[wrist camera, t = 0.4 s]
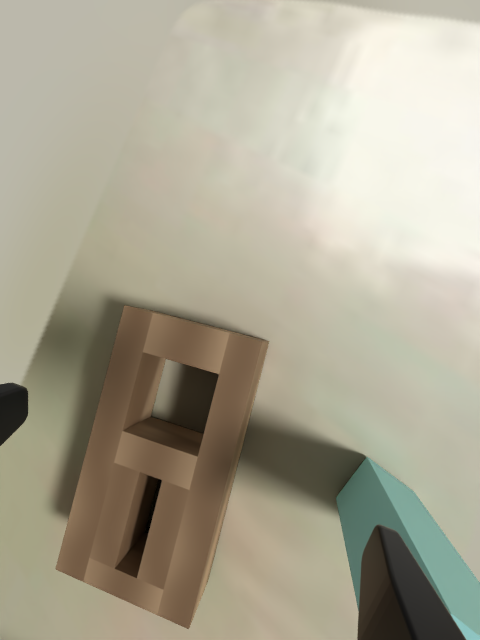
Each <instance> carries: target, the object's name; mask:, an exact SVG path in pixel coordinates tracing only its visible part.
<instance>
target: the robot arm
mask: <svg viewBox="0 0 480 640" xmlns="http://www.w3.org/2000/svg"><path fill="white" fill-rule="evenodd" d="M27 416H28V391H27V389H26V388H25V387H23V386H20V385H18V384H15V383H6V384H0V446H1V445H2V444H3V443H4V442H5V441H6V440H7V439H8V438H9V437H10V436H11V435H12V434H13V433H14V432H15V431H16V430H17V429H18V428H19V427H20V426H21V425H22V424H23V423H24V421H25V420H26V418H27ZM358 640H466V638H465V636H464V635H463V633H462V632H461V630H460V629H459V627H458V625H457V624H456V622H455V621H454V619H453V618H452V616H451V614H450V613H449V611H448V610H447V608H446V607H445V605H444V603H443V602H442V600H441V599H440V597H439V596H438V594H437V592H436V591H435V589H434V588H433V586H432V585H431V583H430V581H429V580H428V578H427V577H426V575H425V574H424V572H423V570H422V569H421V567H420V566H419V564H418V562H417V561H416V559H415V558H414V556H413V555H412V553H411V551H410V550H409V548H408V547H407V545H406V544H405V542H404V540H403V539H402V537H401V536H400V534H399V533H398V532H397V531H396V530H394V529H391V528H389V527H386V526H383V525H381V524H378V525H376V526H375V527H374V529H373V531H372V533H371V535H370V537H369V540H368V542H367V544H366V546H365V548H364V551H363V554H362V560H361V578H360V597H359V617H358Z"/></svg>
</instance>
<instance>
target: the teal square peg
mask: <svg viewBox="0 0 480 640" xmlns="http://www.w3.org/2000/svg"><path fill="white" fill-rule="evenodd" d="M336 501H337V506H338V511H339V516H340V521H341V526H342V531H343V536H344V541H345V546H346V551H347V556H348V561H349V566H350V571H351V576H352V581H353V586H354V591H355V596H356V601H357V606H358V611H359V597H360V578H361V560H362V554H363V551H364V548H365V546H366V544H367V542H368V540H369V537H370V535H371V533H372V531H373V529H374V527H375V526H376V525H378V524H381V525H383V526H386V527H389V528H391V529H394V530H396V531H397V532H398V533H399V534H400V536H401V537H402V539H403V540H404V542H405V544H406V545H407V547H408V548H409V550H410V551H411V553H412V555H413V556H414V558H415V559H416V561H417V562H418V564H419V566H420V567H421V569H422V570H423V572H424V574H425V575H426V577H427V578H428V580H429V581H430V583H431V585H432V586H433V588H434V589H435V591H436V592H437V594H438V596H439V597H440V599H441V600H442V602H443V603H444V605H445V607H446V608H447V610H448V611H449V613H450V614H451V616H452V618H453V619H454V621H455V622H456V624H457V625H458V627H459V629H460V630H461V632H462V633H463V635H464V636H465V638H466V640H480V582H479V581H478V580H477V578H476V577H475V576H474V574H473V573H472V571H471V570H470V569H469V567H468V566H467V565H466V563H465V562H464V560H463V559H462V558H461V556H460V555H459V553H458V552H457V551H456V549H455V548H454V547H453V545H452V544H451V542H450V541H449V540H448V538H447V537H446V535H445V534H444V533H443V531H442V530H441V529H440V527H439V526H438V524H437V523H436V522H435V520H434V519H433V517H432V516H431V515H430V513H429V512H428V511H427V509H426V508H425V506H424V505H423V504H422V502H421V501H420V499H419V498H418V497H417V495H416V494H415V493H414V491H412V490H411V489H410V488H408V487H407V486H406V485H404V484H403V483H402V482H400V481H399V480H398V479H396V478H395V477H394V476H392V475H391V474H390V473H388V472H387V471H386V470H384V469H383V468H382V467H380V466H379V465H378V464H376V463H375V462H374V461H372V460H371V459H370V458H368V457H366V458H365V460H364V461H363V462H362V464H361V465H360V466H359V468H358V469H357V470H356V472H355V473H354V474H353V476H352V477H351V478H350V480H349V481H348V482H347V484H346V485H345V486H344V488H343V489H342V490H341V492H340V493H339V494H338V496H337V497H336Z"/></svg>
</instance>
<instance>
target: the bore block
mask: <svg viewBox="0 0 480 640" xmlns="http://www.w3.org/2000/svg"><path fill="white" fill-rule="evenodd" d="M268 344H269V341H266V340H262V339H258V338H255V337H251V336H247V335H243V334H239V333H236V332H232V331H228V330H224V329H220V328H217V327H213V326H209V325H205V324H201V323H198V322H194V321H190V320H186V319H182V318H179V317H175V316H171V315H167V314H163V313H160V312H156V311H152V310H147V309H142V308H136V307H131V306H126V305H124V308H123V312H122V316H121V320H120V323H119V327H118V331H117V335H116V339H115V343H114V346H113V350H112V354H111V358H110V362H109V366H108V369H107V373H106V377H105V381H104V385H103V389H102V392H101V396H100V400H99V404H98V408H97V412H96V416H95V419H94V423H93V427H92V431H91V435H90V439H89V442H88V446H87V450H86V454H85V458H84V462H83V465H82V469H81V473H80V477H79V481H78V485H77V489H76V492H75V496H74V500H73V504H72V508H71V512H70V515H69V519H68V523H67V527H66V531H65V535H64V538H63V542H62V546H61V550H60V554H59V558H58V561H57V565H56V570H58V571H60V572H63V573H65V574H67V575H69V576H72V577H74V578H76V579H78V580H80V581H83V582H85V583H87V584H89V585H92V586H94V587H96V588H98V589H101V590H103V591H105V592H107V593H109V594H112V595H114V596H116V597H118V598H121V599H123V600H125V601H127V602H129V603H132V604H134V605H136V606H138V607H141V608H143V609H145V610H147V611H150V612H152V613H154V614H156V615H158V616H161V617H163V618H165V619H167V620H170V621H172V622H174V623H176V624H178V625H181V626H183V627H185V628H187V629H189V627H190V625H191V622H192V620H193V617H194V615H195V612H196V610H197V607H198V605H199V602H200V600H201V597H202V595H203V592H204V590H205V587H206V585H207V582H208V579H209V575H210V571H211V567H212V563H213V559H214V555H215V551H216V547H217V544H218V540H219V536H220V532H221V528H222V524H223V520H224V516H225V512H226V508H227V504H228V501H229V497H230V493H231V489H232V485H233V481H234V477H235V473H236V469H237V465H238V462H239V458H240V454H241V450H242V446H243V442H244V438H245V434H246V430H247V426H248V422H249V419H250V415H251V411H252V407H253V403H254V399H255V395H256V391H257V387H258V383H259V380H260V376H261V372H262V368H263V364H264V360H265V356H266V352H267V348H268ZM166 359H168V360H172V361H175V362H179V363H182V364H186V365H189V366H193V367H196V368H199V369H203V370H206V371H210V372H213V373H217V374H219V376H218V380H217V384H216V388H215V392H214V396H213V400H212V404H211V408H210V411H209V415H208V419H207V423H206V427H205V431H204V434H202V433H199V432H196V431H193V430H190V429H187V428H184V427H181V426H178V425H175V424H172V423H169V422H166V421H163V420H159V419H156V418H153V417H151V414H152V410H153V406H154V402H155V398H156V395H157V391H158V387H159V383H160V379H161V375H162V371H163V368H164V364H165V360H166ZM158 479H161V480H162V483H161V487H160V491H159V494H158V498H157V502H156V506H155V510H154V514H153V518H152V522H151V525H150V529H149V533H145V529H146V526H147V522H148V518H149V514H150V510H151V506H152V502H153V498H154V495H155V491H156V487H157V483H158Z"/></svg>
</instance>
